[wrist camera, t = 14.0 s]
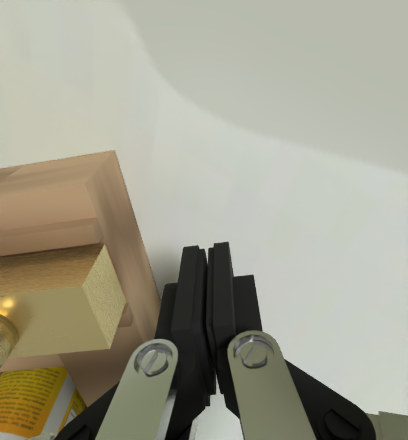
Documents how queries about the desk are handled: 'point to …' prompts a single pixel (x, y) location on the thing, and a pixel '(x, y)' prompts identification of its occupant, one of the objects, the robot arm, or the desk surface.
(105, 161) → the socket block
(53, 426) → the supplement bottle
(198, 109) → the desk surface
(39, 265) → the latch bar
